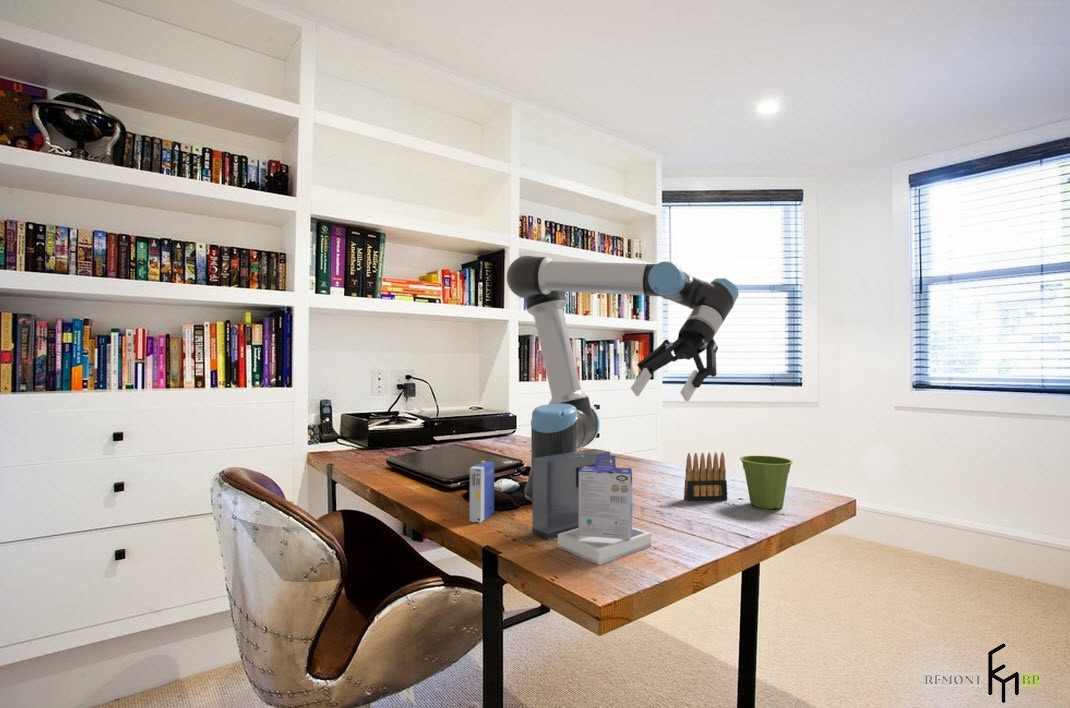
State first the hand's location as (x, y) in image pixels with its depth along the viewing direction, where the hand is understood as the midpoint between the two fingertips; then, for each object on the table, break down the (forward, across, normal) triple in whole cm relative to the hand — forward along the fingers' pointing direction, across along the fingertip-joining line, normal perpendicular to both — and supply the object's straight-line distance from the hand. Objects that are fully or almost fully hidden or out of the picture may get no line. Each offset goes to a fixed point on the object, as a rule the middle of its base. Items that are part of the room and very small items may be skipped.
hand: (658, 394), depth 112 cm
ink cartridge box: (+33, -5, -3) cm, 33 cm away
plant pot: (-2, -9, -41) cm, 42 cm away
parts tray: (+34, -5, -5) cm, 35 cm away
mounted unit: (+33, +7, -7) cm, 34 cm away
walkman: (+41, +24, +1) cm, 48 cm away
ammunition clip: (+4, +3, -36) cm, 36 cm away
